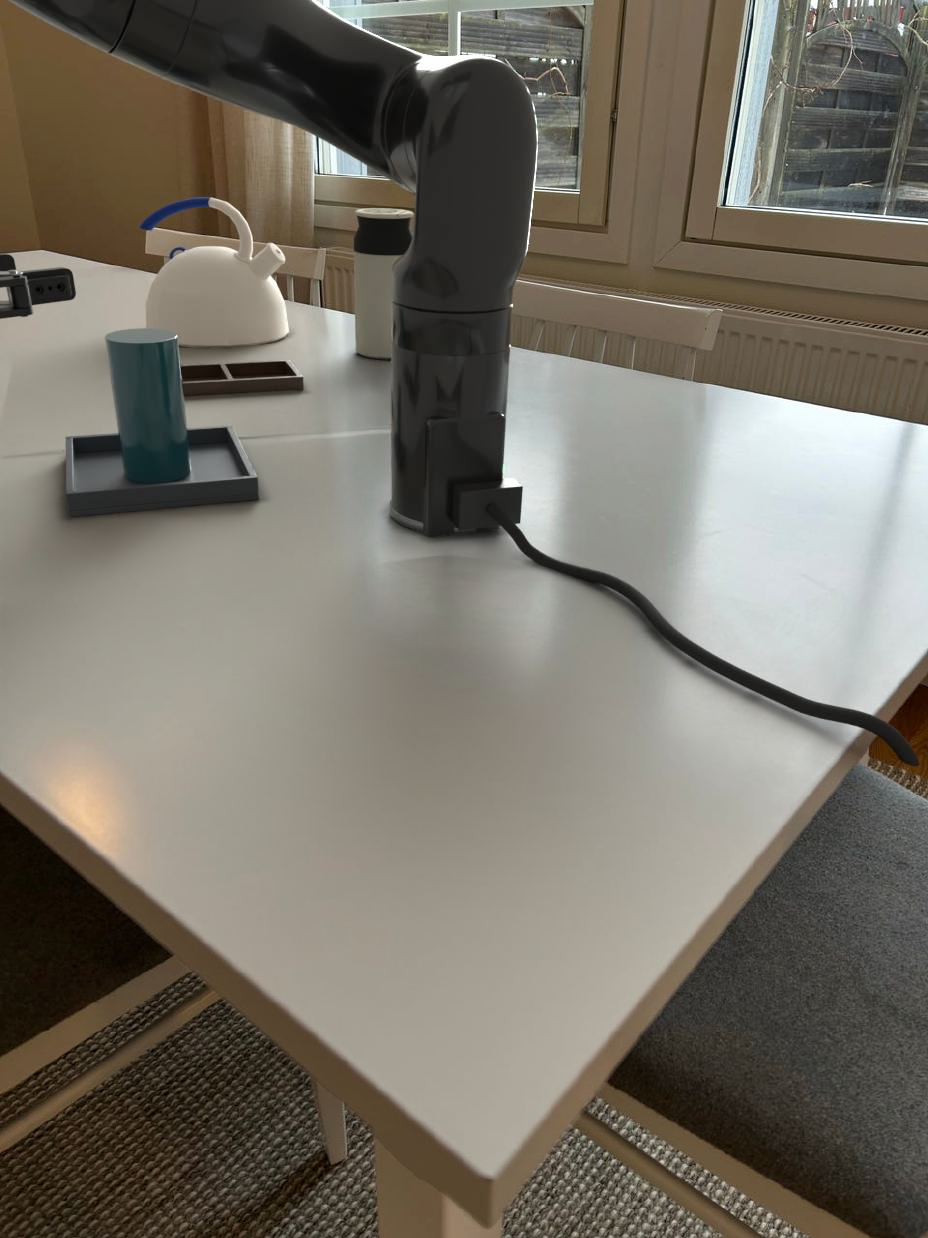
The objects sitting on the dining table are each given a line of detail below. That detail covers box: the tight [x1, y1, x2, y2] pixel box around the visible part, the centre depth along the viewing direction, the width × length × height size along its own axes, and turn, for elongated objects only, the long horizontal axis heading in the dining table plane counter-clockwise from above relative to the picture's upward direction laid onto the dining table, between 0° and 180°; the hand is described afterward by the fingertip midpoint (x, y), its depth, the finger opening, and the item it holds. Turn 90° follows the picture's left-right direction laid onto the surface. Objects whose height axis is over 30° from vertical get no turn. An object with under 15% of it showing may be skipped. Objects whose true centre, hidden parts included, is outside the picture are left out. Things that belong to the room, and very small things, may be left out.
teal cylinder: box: [104, 327, 192, 483], centre depth 82 cm, size 6×6×12 cm
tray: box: [65, 424, 260, 518], centre depth 85 cm, size 15×15×2 cm
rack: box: [180, 359, 305, 398], centre depth 112 cm, size 8×16×2 cm, turn 110°
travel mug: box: [353, 207, 415, 360], centre depth 126 cm, size 8×8×18 cm
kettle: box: [139, 196, 290, 348], centre depth 133 cm, size 20×21×18 cm
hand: (41, 275), depth 71 cm, fingers open, 8 cm apart
